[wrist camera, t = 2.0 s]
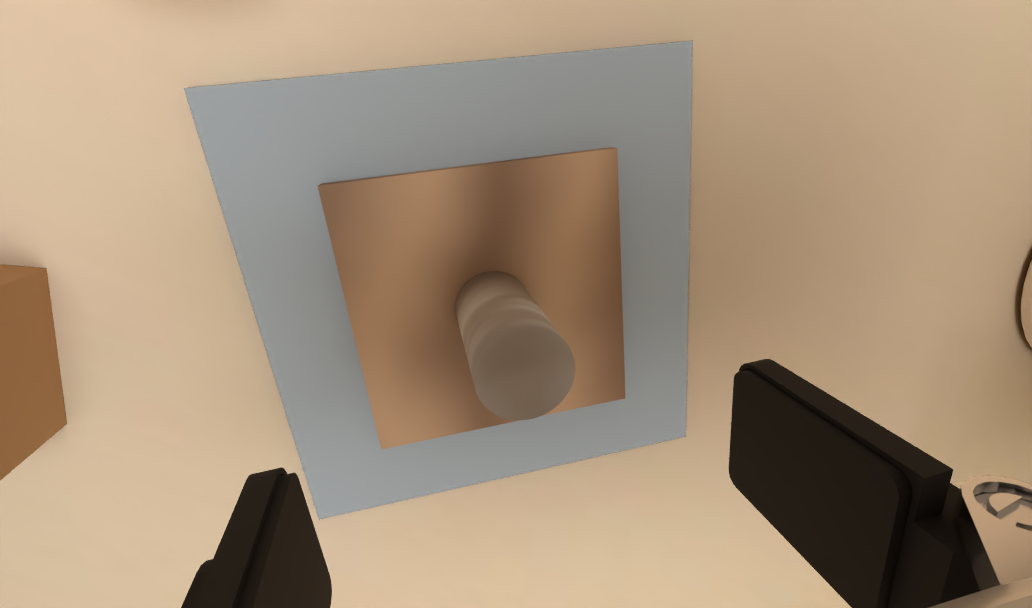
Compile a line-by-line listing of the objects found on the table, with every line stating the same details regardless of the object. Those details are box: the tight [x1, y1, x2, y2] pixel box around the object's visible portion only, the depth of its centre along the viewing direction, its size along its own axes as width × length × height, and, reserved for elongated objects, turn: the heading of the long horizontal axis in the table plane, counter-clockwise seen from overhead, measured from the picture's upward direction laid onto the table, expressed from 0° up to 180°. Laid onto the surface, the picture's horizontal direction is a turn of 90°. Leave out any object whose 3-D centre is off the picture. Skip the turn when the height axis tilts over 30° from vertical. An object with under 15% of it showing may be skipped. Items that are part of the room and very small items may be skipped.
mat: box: [184, 41, 693, 519], centre depth 21 cm, size 18×18×1 cm
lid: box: [318, 147, 626, 449], centre depth 17 cm, size 11×11×7 cm
